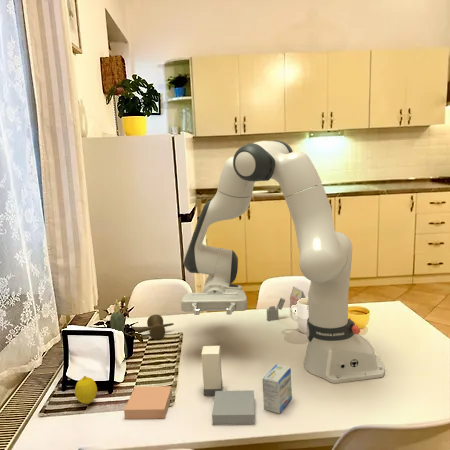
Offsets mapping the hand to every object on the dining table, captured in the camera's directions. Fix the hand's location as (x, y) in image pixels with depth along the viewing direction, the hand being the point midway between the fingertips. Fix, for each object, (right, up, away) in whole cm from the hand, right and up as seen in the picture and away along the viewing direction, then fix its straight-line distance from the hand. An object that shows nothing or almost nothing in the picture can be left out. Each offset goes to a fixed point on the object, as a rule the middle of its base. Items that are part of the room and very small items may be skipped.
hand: (212, 312), depth 121 cm
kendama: (-24, -15, +28) cm, 40 cm away
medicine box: (+17, -20, -16) cm, 31 cm away
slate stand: (+6, -21, -18) cm, 28 cm away
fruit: (-33, -22, -11) cm, 41 cm away
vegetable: (-29, -18, +11) cm, 36 cm away
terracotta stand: (-16, -21, -14) cm, 30 cm away
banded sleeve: (0, -20, -9) cm, 21 cm away
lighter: (+23, -10, +36) cm, 44 cm away
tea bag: (+32, -9, +41) cm, 53 cm away
